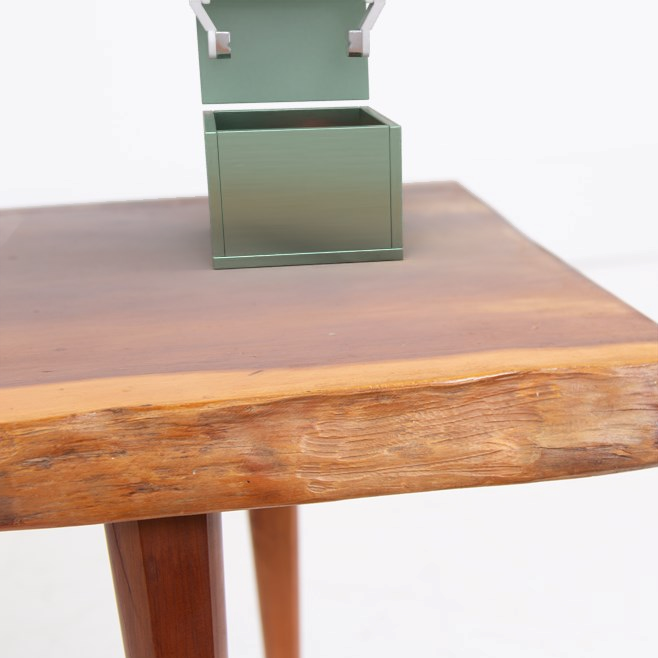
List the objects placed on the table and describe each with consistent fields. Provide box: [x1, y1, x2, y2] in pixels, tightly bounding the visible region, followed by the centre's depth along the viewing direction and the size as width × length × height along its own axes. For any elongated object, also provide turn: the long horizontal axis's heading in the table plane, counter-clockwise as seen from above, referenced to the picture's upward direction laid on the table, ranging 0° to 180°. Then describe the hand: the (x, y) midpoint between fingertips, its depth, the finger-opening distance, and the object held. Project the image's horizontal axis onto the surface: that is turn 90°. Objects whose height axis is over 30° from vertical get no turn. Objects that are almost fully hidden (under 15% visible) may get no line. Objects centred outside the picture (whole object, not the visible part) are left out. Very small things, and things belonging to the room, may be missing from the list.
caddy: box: [202, 105, 404, 270], centre depth 80 cm, size 15×13×9 cm
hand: (289, 57), depth 77 cm, fingers open, 8 cm apart
